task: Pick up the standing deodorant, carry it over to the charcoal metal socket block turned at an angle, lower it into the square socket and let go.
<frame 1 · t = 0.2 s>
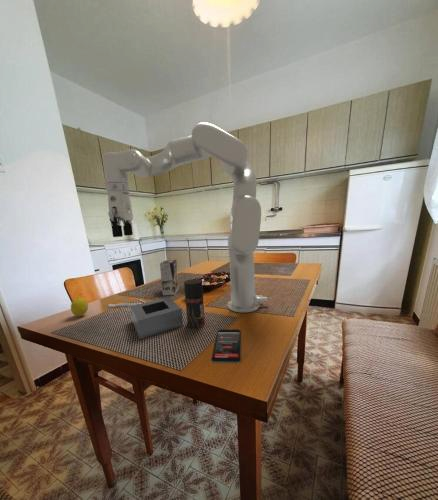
hand: (123, 236, 77), 31 cm above the table, tool pointing down, fingers open, 9 cm apart
lemon: (81, 316, 81), on the table
coffee box: (171, 292, 104), on the table
mug: (193, 300, 91), on the table
smartphone: (227, 346, 57), on the table
crossbow: (127, 307, 89), on the table
socket block: (156, 323, 71), on the table
deodorant: (196, 324, 70), on the table
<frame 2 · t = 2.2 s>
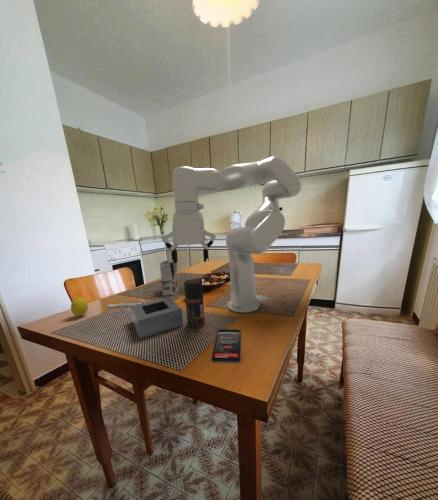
hand: (190, 261, 66), 22 cm above the table, tool pointing down, fingers open, 9 cm apart
nothing on the table moved.
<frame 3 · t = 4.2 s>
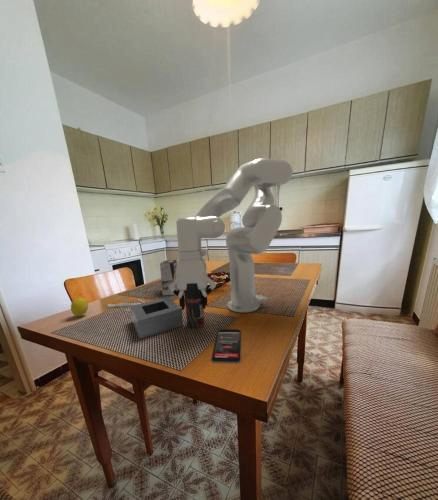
hand: (193, 307, 69), 6 cm above the table, tool pointing down, fingers open, 6 cm apart
deodorant: (195, 324, 70), on the table, touching gripper
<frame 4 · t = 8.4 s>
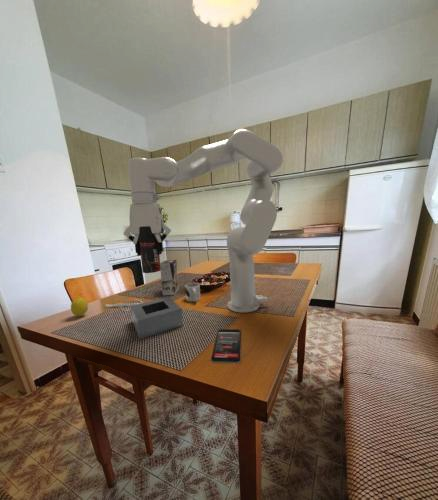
hand: (150, 254, 68), 25 cm above the table, tool pointing down, fingers closed on deodorant, 6 cm apart
deodorant: (151, 271, 69), point 19 cm above the table, touching gripper
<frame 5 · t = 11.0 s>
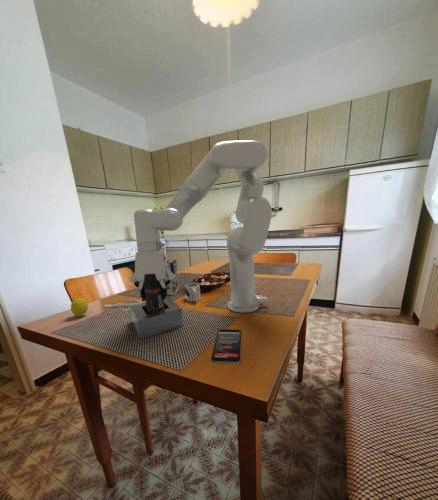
hand: (154, 298, 70), 9 cm above the table, tool pointing down, fingers closed on deodorant, 6 cm apart
deodorant: (156, 314, 71), point 3 cm above the table, touching gripper
when the fingers open (8 cm above the table, at t = 12.4 s): deodorant drops 2 cm, resting on socket block.
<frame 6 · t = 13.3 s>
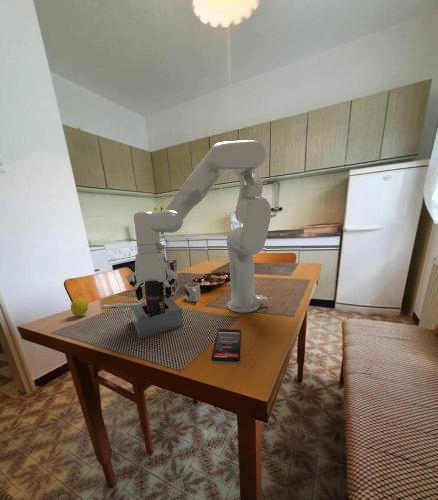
hand: (154, 298, 70), 9 cm above the table, tool pointing down, fingers open, 9 cm apart
deodorant: (157, 321, 71), point 1 cm above the table, touching socket block
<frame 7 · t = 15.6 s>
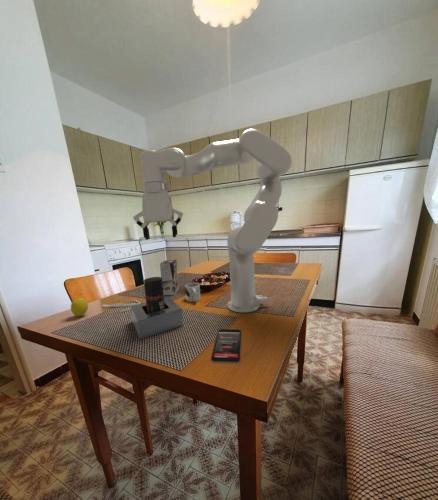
hand: (161, 238, 73), 30 cm above the table, tool pointing down, fingers open, 9 cm apart
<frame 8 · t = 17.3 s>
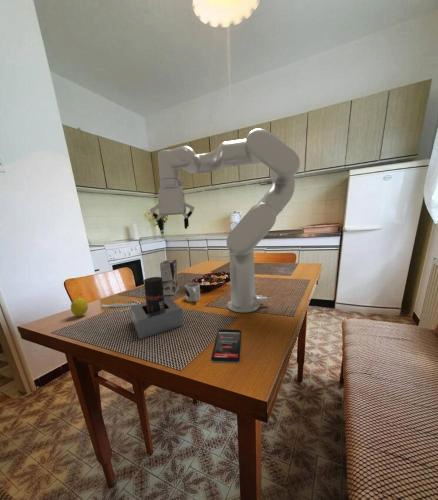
hand: (174, 229, 81), 32 cm above the table, tool pointing down, fingers open, 9 cm apart
at the end: deodorant 0.2 cm off-centre on the socket block, point 0.8 cm above the socket block's base; deodorant tilted 0°; the gripper is holding nothing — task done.
